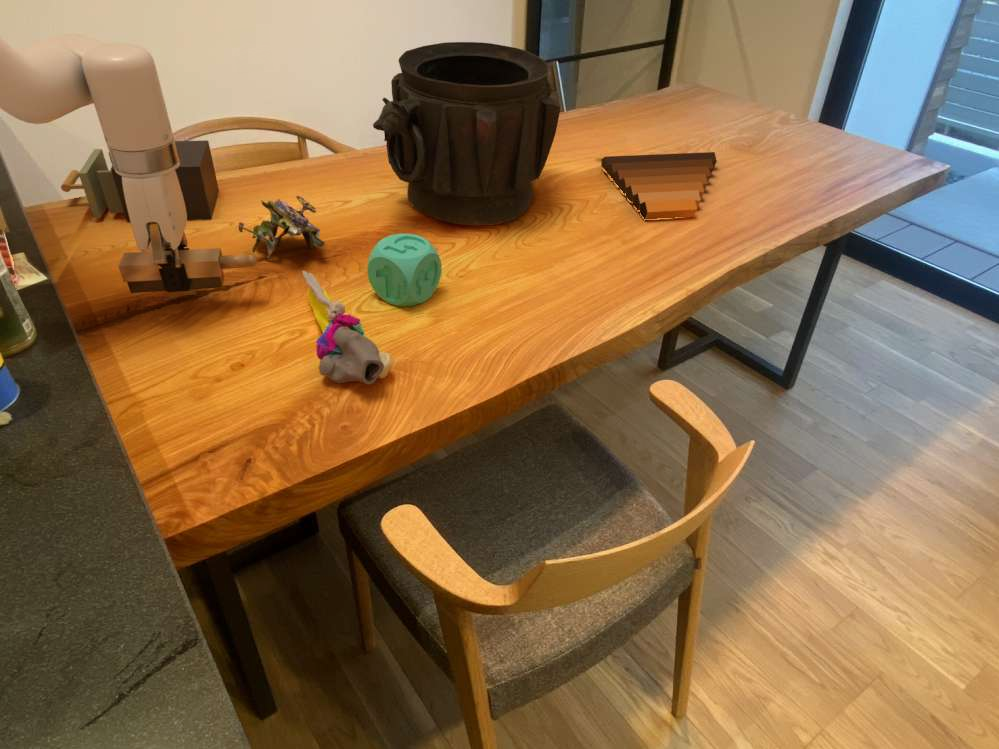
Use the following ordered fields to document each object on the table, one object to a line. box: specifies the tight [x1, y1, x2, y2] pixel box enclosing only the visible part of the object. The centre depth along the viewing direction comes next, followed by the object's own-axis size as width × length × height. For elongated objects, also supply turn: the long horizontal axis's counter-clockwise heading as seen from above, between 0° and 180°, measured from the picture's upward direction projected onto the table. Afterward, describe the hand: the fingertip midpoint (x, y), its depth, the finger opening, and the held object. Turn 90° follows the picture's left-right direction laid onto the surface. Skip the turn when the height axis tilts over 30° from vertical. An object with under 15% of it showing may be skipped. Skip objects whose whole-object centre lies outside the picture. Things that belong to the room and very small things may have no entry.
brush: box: [117, 247, 259, 294], centre depth 96 cm, size 18×4×4 cm, turn 101°
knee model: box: [301, 270, 394, 386], centre depth 93 cm, size 9×8×25 cm
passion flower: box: [238, 195, 326, 262], centre depth 110 cm, size 11×11×12 cm
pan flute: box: [600, 151, 718, 219], centre depth 139 cm, size 25×3×25 cm
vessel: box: [372, 41, 561, 226], centre depth 124 cm, size 31×32×25 cm
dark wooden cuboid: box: [110, 140, 220, 224], centre depth 120 cm, size 14×12×10 cm
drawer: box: [60, 148, 125, 218], centre depth 119 cm, size 17×10×8 cm, turn 101°
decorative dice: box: [366, 233, 443, 307], centre depth 103 cm, size 8×8×8 cm
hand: (180, 281), depth 97 cm, fingers closed on brush, 3 cm apart
